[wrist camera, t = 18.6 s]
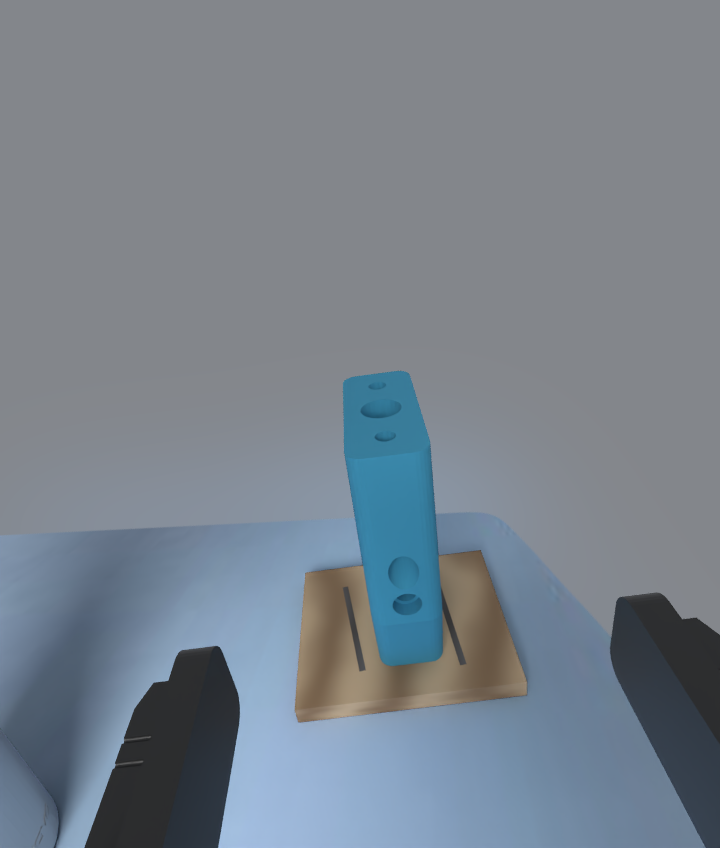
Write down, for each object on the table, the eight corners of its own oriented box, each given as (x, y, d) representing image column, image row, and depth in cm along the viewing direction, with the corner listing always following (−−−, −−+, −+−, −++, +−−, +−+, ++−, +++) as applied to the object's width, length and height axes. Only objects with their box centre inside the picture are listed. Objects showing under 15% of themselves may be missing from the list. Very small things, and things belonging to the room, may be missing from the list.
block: (373, 572, 49) (343, 378, 40) (425, 565, 49) (407, 369, 40) (382, 688, 39) (344, 461, 30) (449, 680, 39) (432, 450, 29)
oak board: (298, 722, 39) (294, 709, 38) (308, 584, 51) (305, 572, 51) (526, 695, 38) (526, 681, 38) (481, 562, 51) (480, 550, 50)
